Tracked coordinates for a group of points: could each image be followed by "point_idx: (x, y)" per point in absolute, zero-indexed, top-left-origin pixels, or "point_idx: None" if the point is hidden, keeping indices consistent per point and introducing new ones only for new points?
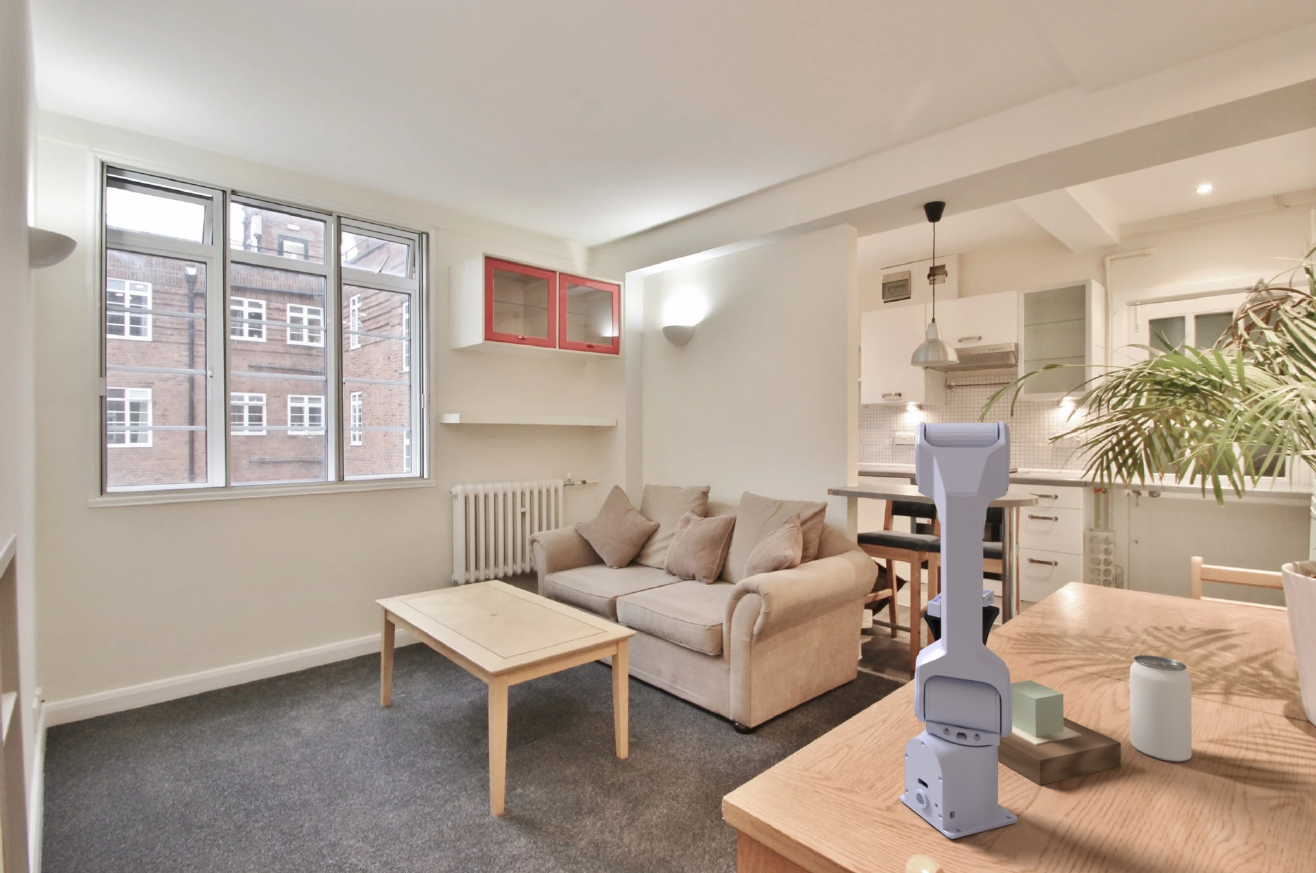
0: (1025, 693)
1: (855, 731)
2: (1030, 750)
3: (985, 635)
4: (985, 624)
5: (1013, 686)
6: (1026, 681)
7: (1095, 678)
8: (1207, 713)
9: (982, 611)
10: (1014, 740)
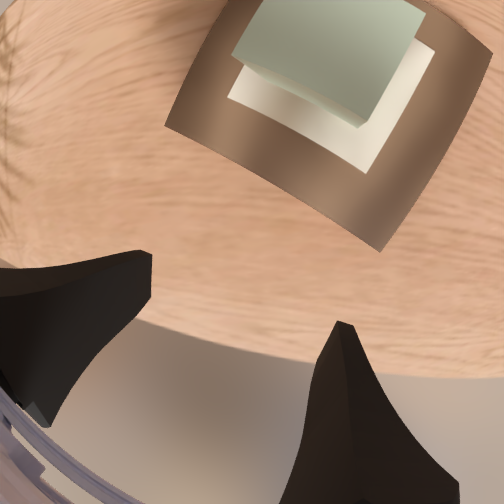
0: (402, 39)
1: (440, 364)
2: (466, 64)
3: (92, 274)
4: (51, 300)
5: (357, 82)
6: (255, 58)
7: (11, 127)
8: (41, 10)
9: (7, 350)
10: (444, 95)
